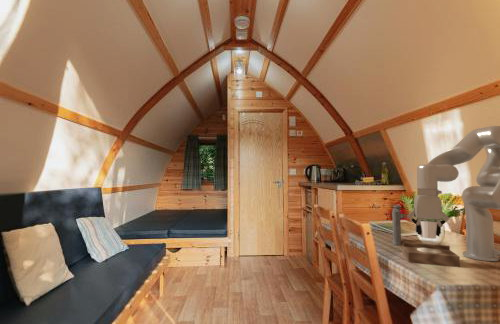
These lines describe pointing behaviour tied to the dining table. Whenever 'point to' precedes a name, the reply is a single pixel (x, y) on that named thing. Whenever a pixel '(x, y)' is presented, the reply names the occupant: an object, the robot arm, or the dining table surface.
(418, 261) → the rack
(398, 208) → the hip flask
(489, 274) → the dining table surface
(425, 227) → the white cup
